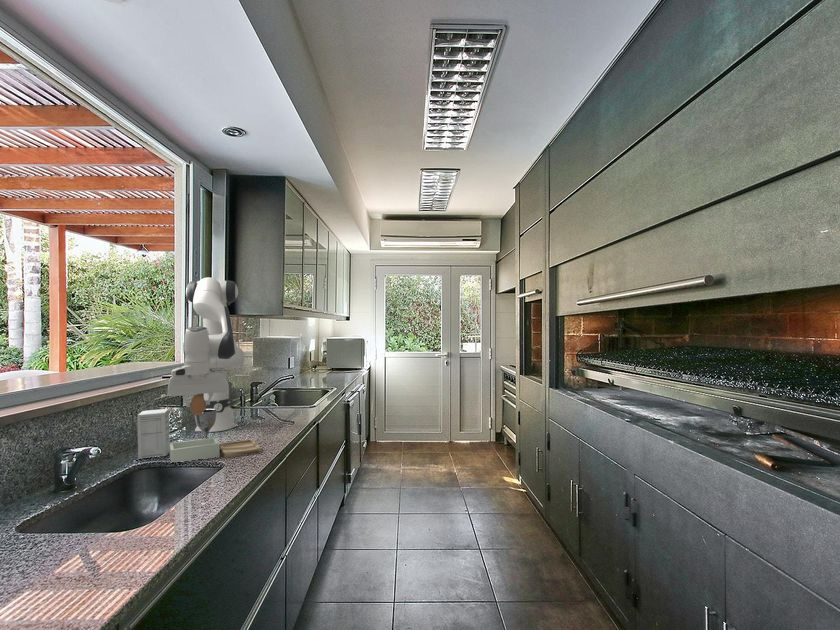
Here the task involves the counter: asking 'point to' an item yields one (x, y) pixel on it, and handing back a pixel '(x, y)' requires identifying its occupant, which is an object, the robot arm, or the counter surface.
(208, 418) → the wine glass
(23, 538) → the counter surface
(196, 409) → the egg
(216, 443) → the bin
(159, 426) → the supplement box
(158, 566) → the counter surface
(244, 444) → the tray
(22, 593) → the counter surface
